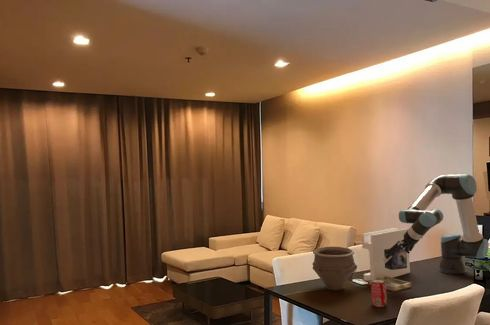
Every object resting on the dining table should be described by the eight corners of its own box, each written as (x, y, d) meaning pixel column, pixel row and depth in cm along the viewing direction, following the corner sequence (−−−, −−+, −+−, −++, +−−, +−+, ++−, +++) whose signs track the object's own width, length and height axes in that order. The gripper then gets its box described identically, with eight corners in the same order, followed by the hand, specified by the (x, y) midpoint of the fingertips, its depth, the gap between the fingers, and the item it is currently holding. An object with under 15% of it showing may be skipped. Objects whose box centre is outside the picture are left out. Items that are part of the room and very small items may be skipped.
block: (374, 282, 239) (372, 235, 239) (363, 280, 245) (361, 233, 246) (410, 272, 258) (407, 228, 259) (398, 270, 265) (396, 227, 266)
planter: (358, 283, 238) (356, 246, 239) (358, 296, 215) (356, 254, 215) (315, 282, 245) (314, 245, 245) (310, 293, 221) (309, 253, 222)
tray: (385, 280, 242) (385, 276, 242) (411, 287, 227) (410, 282, 227) (368, 284, 236) (368, 280, 236) (393, 291, 220) (393, 287, 220)
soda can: (383, 302, 203) (382, 278, 203) (389, 307, 196) (387, 282, 196) (369, 303, 202) (368, 279, 203) (374, 308, 195) (373, 283, 196)
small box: (391, 270, 221) (390, 251, 221) (384, 268, 227) (383, 249, 227) (407, 268, 224) (406, 249, 224) (400, 265, 230) (399, 247, 230)
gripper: (403, 243, 207) (381, 268, 220) (432, 237, 219) (409, 261, 231) (394, 232, 211) (372, 257, 224) (423, 227, 223) (401, 251, 236)
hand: (391, 259), depth 228 cm, fingers closed on small box, 11 cm apart
